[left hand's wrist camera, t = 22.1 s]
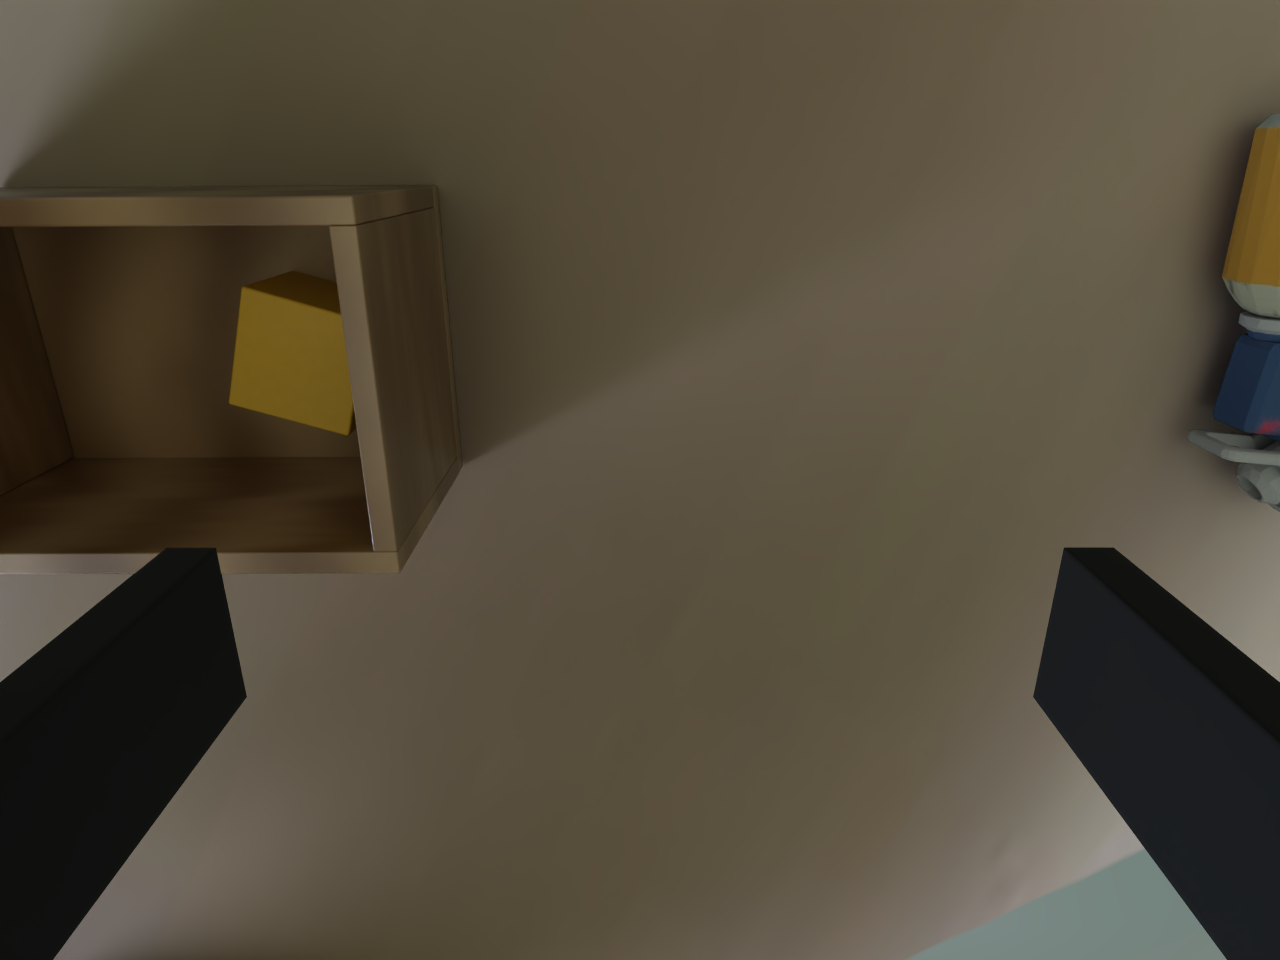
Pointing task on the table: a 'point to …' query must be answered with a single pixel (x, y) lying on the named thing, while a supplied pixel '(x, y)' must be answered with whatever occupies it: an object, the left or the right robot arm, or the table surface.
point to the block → (293, 353)
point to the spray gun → (1254, 328)
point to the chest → (215, 379)
